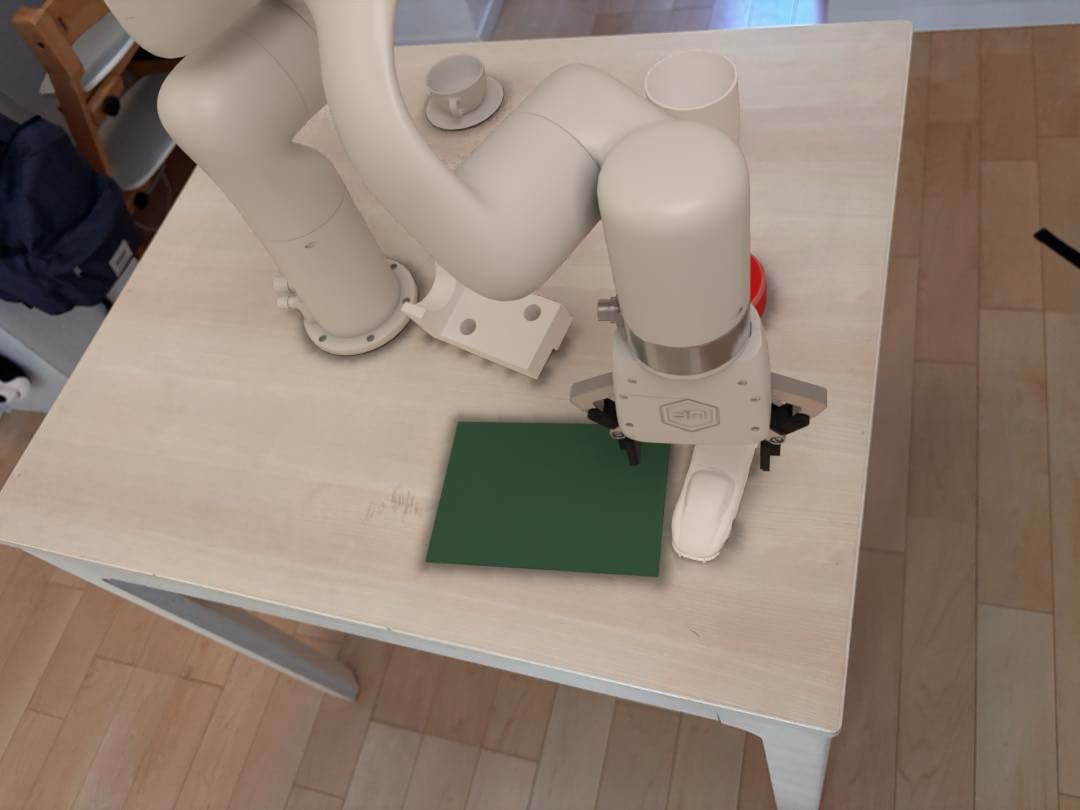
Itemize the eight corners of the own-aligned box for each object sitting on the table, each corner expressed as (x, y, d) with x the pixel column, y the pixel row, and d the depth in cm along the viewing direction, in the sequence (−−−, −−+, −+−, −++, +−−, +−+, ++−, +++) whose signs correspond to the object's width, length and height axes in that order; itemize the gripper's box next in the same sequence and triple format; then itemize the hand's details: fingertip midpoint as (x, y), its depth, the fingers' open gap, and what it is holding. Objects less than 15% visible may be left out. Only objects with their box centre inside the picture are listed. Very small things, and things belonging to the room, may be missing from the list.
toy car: (760, 444, 73) (759, 423, 71) (722, 572, 68) (719, 555, 65) (704, 432, 75) (701, 411, 72) (663, 556, 70) (658, 539, 67)
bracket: (437, 340, 89) (400, 310, 82) (468, 281, 90) (435, 246, 83) (540, 383, 83) (510, 354, 77) (573, 319, 84) (546, 285, 78)
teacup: (431, 85, 111) (419, 54, 108) (506, 72, 109) (496, 40, 105) (423, 138, 106) (410, 107, 102) (501, 125, 104) (491, 93, 100)
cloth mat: (426, 562, 75) (425, 560, 74) (459, 423, 82) (458, 421, 82) (658, 577, 69) (657, 575, 69) (671, 426, 76) (671, 425, 76)
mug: (726, 207, 89) (720, 113, 79) (646, 195, 92) (630, 103, 82) (760, 130, 94) (758, 32, 84) (683, 121, 97) (672, 26, 87)
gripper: (535, 365, 52) (582, 490, 66) (840, 369, 48) (819, 502, 62) (553, 268, 56) (593, 406, 70) (837, 263, 51) (818, 412, 65)
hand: (699, 451), depth 66 cm, fingers open, 9 cm apart
